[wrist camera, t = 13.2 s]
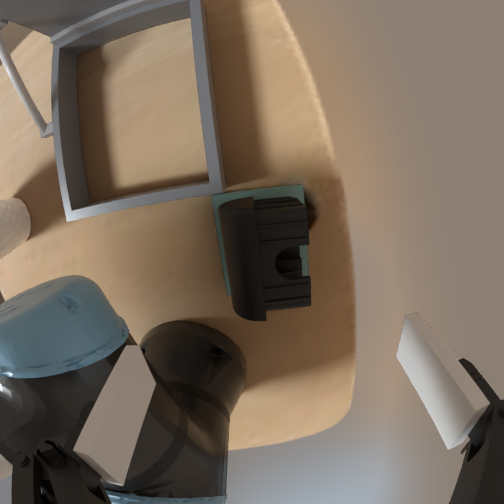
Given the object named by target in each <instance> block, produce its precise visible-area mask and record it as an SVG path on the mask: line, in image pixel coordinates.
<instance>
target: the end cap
mask: <svg viewBox="0 0 504 504" xmlns="http://www.w3.org/2000/svg"><path fill="white" fill-rule="evenodd" d="M218 212H219V219H220V226H221V233H222V240H223V246H224V253H225V259H226V266H227V272H228V278H229V284H230V290H231V296H232V302H233V308H234V310H235V312H236V313H237V314H238V315H239V316H241V317H242V318H245V319H247V320H252V321H267V319H266V311H272V310H281V309H290V308H298V307H306V306H311V279H310V276H303V274H302V258H301V257H300V247H299V246H304V245H309V231H308V214H307V208H306V206H305V205H304V204H303V203H302V202H300V200H299V199H298V198H296V197H295V198H293V197H290V196H288V197H277V198H267V199H258V200H254V196H252V197H245V198H239V199H234V200H231V201H227V202H225V203H223V204H221V205H220V206H219V207H218Z"/></svg>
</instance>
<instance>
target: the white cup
mask: <svg viewBox="0 0 504 504" xmlns="http://www.w3.org/2000/svg"><path fill="white" fill-rule="evenodd" d="M30 230H31V220H30V214H29V212H28V209H27V207H26V205H25V204H24V203H23V202H22V200H21V199H18V198H15V197H13V198H9V199H6V200H0V259H2V258H3V257H5V256H6V255H7V254H9V253H10V252H12V251H13V250H14V249H15V248H16V247H18V246H20V245H21V244H23V243H25V242H26V240H27V239H28V237H29V236H30Z"/></svg>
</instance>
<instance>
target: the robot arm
mask: <svg viewBox="0 0 504 504" xmlns="http://www.w3.org/2000/svg"><path fill="white" fill-rule="evenodd" d="M396 357H397V359H398V360H399V362H400V364H401V365H402V367H403V369H404V370H405V372H406V374H407V375H408V377H409V378H410V380H411V382H412V384H413V386H414V387H415V389H416V391H417V392H418V394H419V396H420V398H421V400H422V401H423V403H424V405H425V407H426V408H427V410H428V412H429V414H430V416H431V418H432V420H433V421H434V423H435V425H436V427H437V429H438V431H439V433H440V434H441V436H442V439H443V440H444V442H445V444H446V446H447V448H448V450H449V449H451V448H453V447H455V446H457V445H459V444H461V443H462V442H463V441H464V439H465V438H466V437H467V436H469V438H470V441H469V442H468V443H467V444H466V446H465V447H464V448H463V449H462V451H461V454H462V453H463V452H464V451H465V450H466V453H465V457H464V461H463V464H462V468H461V471H460V474H459V477H458V481H457V483H456V486H455V489H454V492H453V495H452V497H451V500H450V502H449V504H504V400H500V399H499V397H498V396H497V395H496V393H495V392H494V391H493V389H492V388H491V387H490V386H489V384H488V383H487V382H486V380H485V379H484V378H482V375H481V374H480V373H479V372H478V370H477V369H476V368H475V367H474V365H473V364H472V363H470V362H469V361H467V360H466V359H464V358H463V359H460V360H457V359H456V357H455V356H454V355H453V354H452V352H451V351H450V350H449V349H448V348H447V346H446V345H445V344H444V343H443V341H442V340H441V339H440V338H439V337H438V336H437V334H436V333H435V332H434V331H433V330H432V329H431V327H430V326H429V325H428V324H427V323H426V322H425V320H424V319H423V318H422V317H421V316H420V315H419V314H418V313H413V314H409V315H405V319H404V324H403V329H402V334H401V339H400V344H399V347H398V352H397V356H396ZM245 383H246V363H245V359H244V357H243V354H242V353H241V351H240V349H239V348H238V347H237V346H236V345H235V343H234V342H232V341H231V340H230V339H229V338H228V337H226V336H225V335H224V334H222V333H220V332H218V331H217V330H214V329H212V328H210V327H207V326H204V325H201V324H197V323H191V322H170V323H165V324H162V325H159V326H157V327H155V328H153V329H152V330H150V331H149V332H148V333H147V334H146V335H145V336H144V337H143V339H142V341H141V343H140V345H137V343H136V342H135V340H134V339H133V337H132V336H131V334H130V333H129V329H128V327H127V325H126V323H125V321H124V320H123V319H122V318H121V317H120V316H118V315H117V313H116V312H115V310H114V309H113V307H112V306H111V304H110V303H109V301H108V300H107V298H106V296H105V295H104V293H103V292H102V290H101V289H100V287H99V286H98V285H97V284H96V283H95V282H94V281H92V280H91V279H89V278H87V277H84V276H79V275H70V276H64V277H60V278H57V279H53V280H50V281H48V282H45V283H42V284H40V285H37V286H35V287H33V288H30V289H28V290H26V291H24V292H22V293H20V294H18V295H16V296H14V297H12V298H10V299H8V300H7V301H5V302H4V303H3V304H1V305H0V479H3V478H5V477H7V476H9V475H11V474H12V504H225V501H226V499H227V494H226V480H227V460H228V441H229V422H230V415H231V413H232V411H233V409H234V407H235V405H236V403H237V401H238V400H239V398H240V396H241V394H242V392H243V390H244V387H245ZM41 489H42V493H41Z"/></svg>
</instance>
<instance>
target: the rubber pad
mask: <svg viewBox="0 0 504 504" xmlns="http://www.w3.org/2000/svg"><path fill="white" fill-rule="evenodd" d="M252 196H254V200H258V199H267V198H277V197H288V196H290V197H293V198H295V197H296V198H298V199H299V200H300V202H302V203H303V204H304V205H305V203H304V191H303V185H301V184H300V185H289V186H279V187H269V188H260V189H251V190H243V191H235V192H227V193H220V194H213V195H212V196H211V197H212V204H213V210H214V217H215V223H216V230H217V236H218V242H219V248H220V254H221V260H222V266H223V272H224V278H225V284H226V289H227V295H228V296H231V290H230V284H229V278H228V272H227V266H226V259H225V253H224V246H223V240H222V233H221V226H220V219H219V212H218V207H219V206H220V205H221V204H223V203H225V202H227V201H231V200H234V199H239V198H245V197H252ZM299 247H300V257H301V258H302V274H303V276H309V269H308V249H307V245H304V246H299Z"/></svg>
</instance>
